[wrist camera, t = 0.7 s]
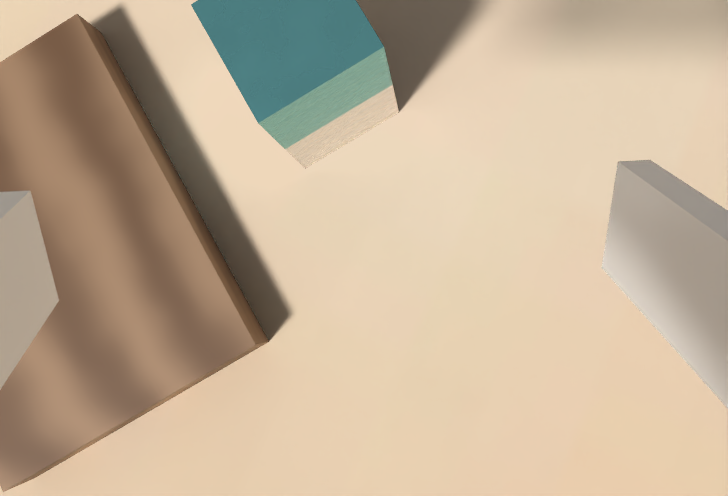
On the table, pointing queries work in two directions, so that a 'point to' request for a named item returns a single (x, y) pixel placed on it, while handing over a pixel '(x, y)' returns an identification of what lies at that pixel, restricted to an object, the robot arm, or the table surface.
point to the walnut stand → (105, 257)
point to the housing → (304, 69)
